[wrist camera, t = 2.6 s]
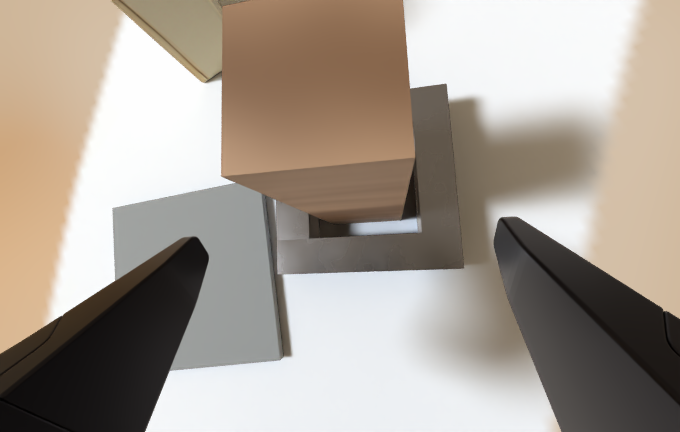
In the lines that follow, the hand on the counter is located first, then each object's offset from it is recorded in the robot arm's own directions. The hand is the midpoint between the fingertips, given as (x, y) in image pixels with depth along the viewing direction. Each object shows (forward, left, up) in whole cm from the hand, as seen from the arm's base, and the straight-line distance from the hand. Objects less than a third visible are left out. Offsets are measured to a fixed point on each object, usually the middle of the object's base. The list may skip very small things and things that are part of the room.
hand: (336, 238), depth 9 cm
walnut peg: (+4, 0, -10) cm, 11 cm away
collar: (+4, 0, -10) cm, 11 cm away
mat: (0, +13, -10) cm, 16 cm away
